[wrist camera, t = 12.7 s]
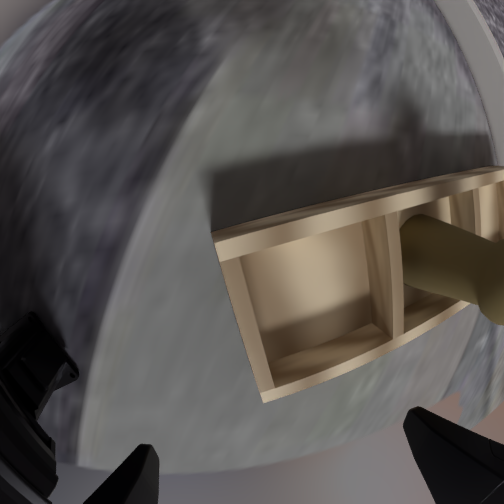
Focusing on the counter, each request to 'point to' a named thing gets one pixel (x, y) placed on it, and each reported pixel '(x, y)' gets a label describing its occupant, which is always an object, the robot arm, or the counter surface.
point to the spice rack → (343, 277)
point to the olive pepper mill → (453, 264)
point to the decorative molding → (480, 62)
